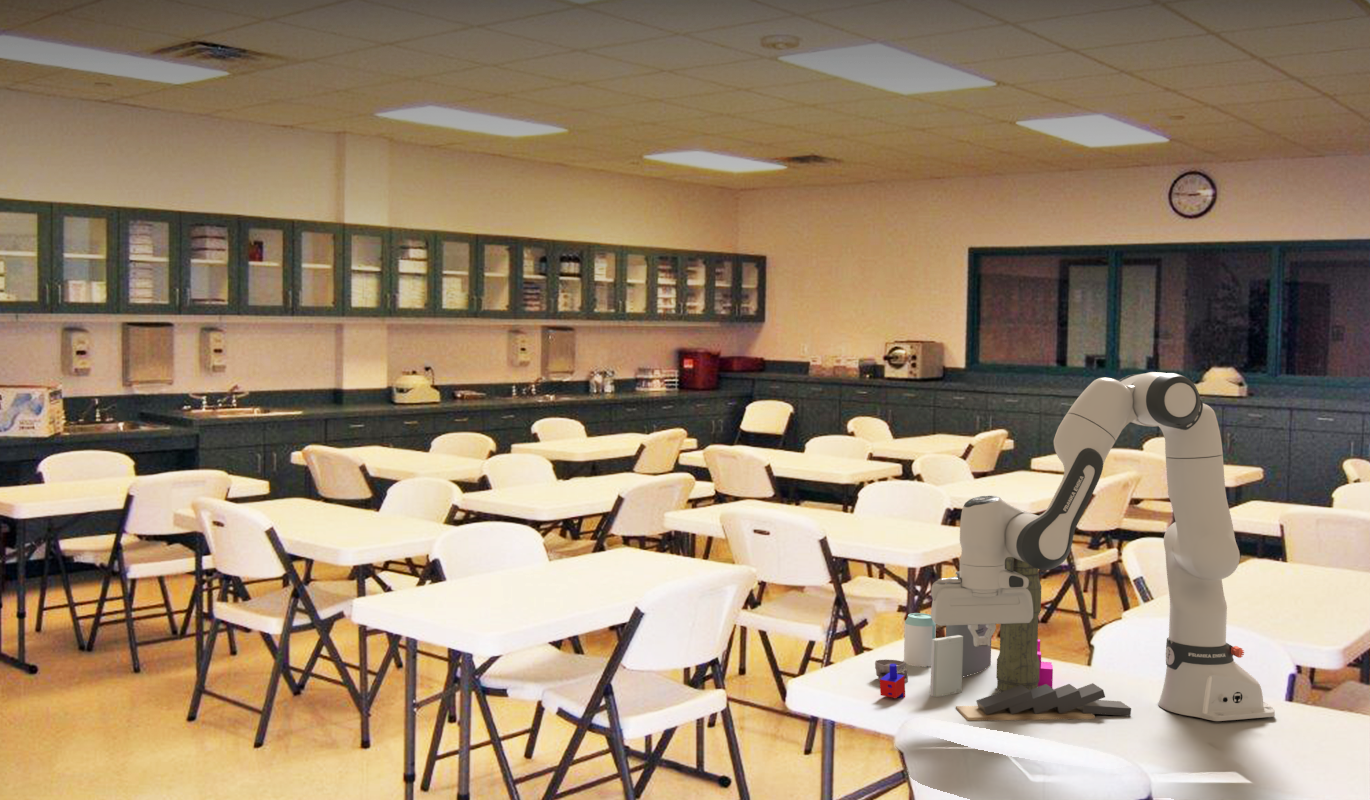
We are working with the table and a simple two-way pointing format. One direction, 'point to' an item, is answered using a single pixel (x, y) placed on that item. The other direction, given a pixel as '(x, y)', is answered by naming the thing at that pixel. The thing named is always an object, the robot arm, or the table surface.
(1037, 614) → the thermos
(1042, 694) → the tile
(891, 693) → the toy building block
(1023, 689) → the tile
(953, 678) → the external hard drive
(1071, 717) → the oak board
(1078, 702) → the tile
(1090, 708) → the tile
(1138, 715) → the table surface
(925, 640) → the can
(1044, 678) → the toy block
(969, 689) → the table surface
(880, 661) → the dental mold
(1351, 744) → the table surface
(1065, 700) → the tile
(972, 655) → the flask
